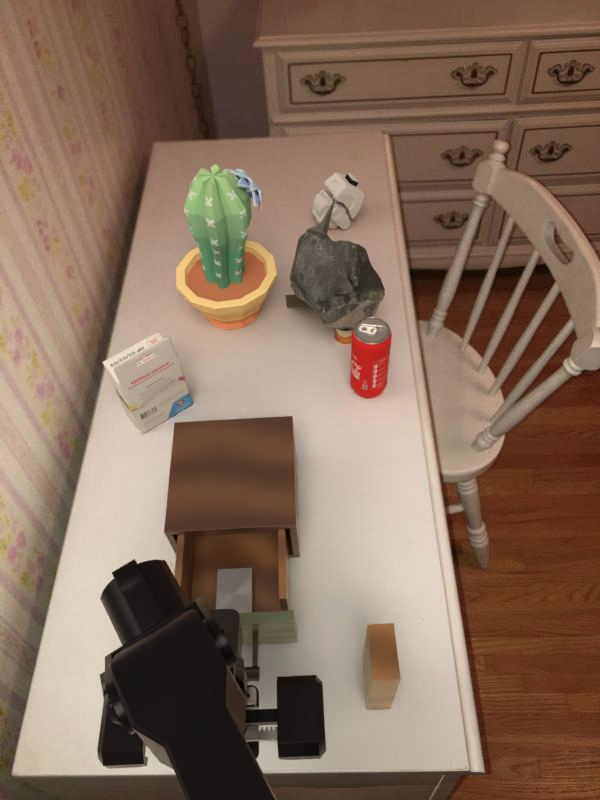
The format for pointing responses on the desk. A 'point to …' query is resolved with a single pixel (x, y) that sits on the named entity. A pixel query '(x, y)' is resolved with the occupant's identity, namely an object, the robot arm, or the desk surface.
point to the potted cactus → (224, 250)
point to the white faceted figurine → (339, 200)
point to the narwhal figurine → (334, 280)
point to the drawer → (272, 585)
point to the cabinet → (233, 478)
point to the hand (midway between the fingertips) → (227, 736)
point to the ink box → (149, 381)
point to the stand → (380, 666)
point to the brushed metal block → (236, 589)
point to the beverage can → (370, 356)
